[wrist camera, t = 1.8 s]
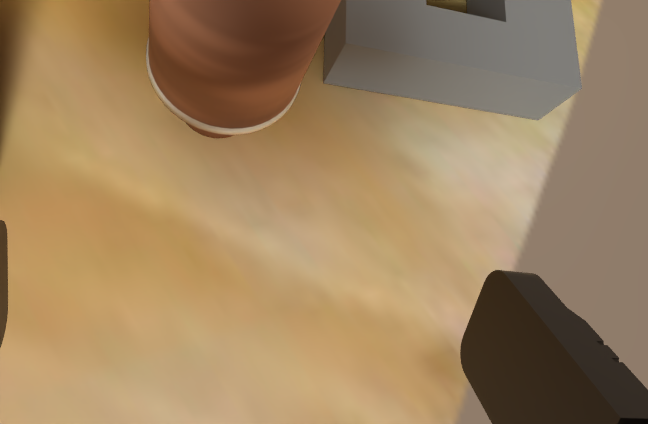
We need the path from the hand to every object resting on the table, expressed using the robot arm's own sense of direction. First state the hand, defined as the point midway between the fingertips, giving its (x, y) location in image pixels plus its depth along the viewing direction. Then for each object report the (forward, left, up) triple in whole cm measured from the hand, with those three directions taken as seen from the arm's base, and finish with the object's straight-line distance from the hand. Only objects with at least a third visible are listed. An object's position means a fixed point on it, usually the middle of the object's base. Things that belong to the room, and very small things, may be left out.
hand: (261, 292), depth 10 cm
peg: (0, +11, -15) cm, 19 cm away
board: (+11, +18, -15) cm, 26 cm away
